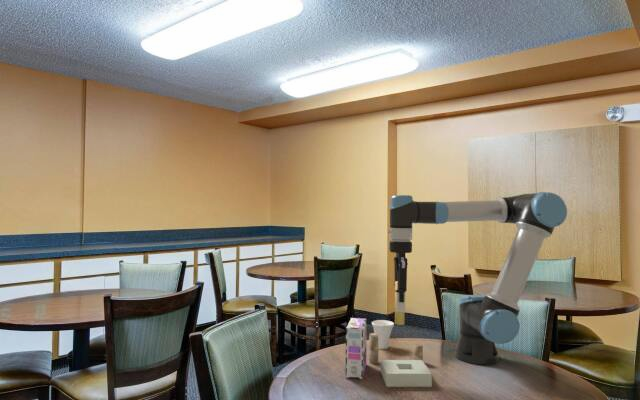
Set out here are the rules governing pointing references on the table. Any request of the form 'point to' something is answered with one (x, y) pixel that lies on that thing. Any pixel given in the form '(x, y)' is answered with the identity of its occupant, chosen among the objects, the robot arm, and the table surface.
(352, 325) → the candy box
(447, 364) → the table surface
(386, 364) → the socket block
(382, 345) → the cup
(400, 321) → the pin long
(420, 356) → the pin short
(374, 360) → the pin medium
